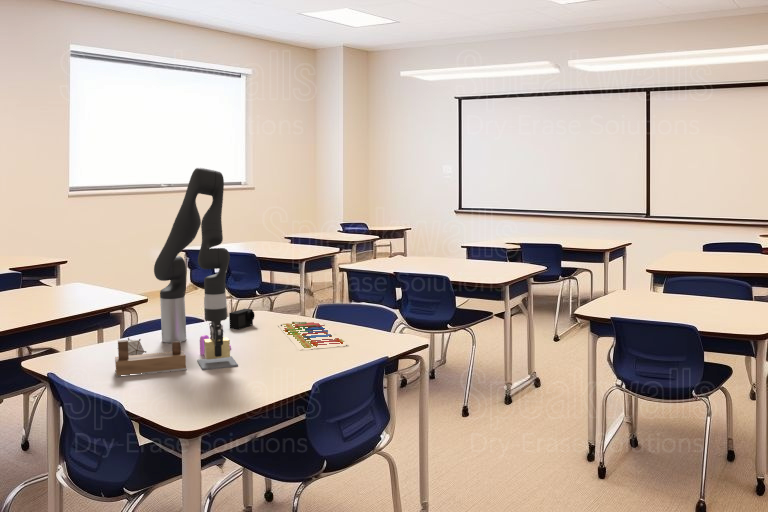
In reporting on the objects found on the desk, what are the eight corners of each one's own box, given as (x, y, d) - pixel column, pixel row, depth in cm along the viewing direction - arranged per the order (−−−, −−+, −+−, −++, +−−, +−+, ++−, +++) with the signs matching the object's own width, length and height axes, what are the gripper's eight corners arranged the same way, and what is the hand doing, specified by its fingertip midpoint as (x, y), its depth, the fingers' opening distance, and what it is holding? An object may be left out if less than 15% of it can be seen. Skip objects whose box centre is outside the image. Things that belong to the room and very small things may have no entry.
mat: (197, 361, 259) (197, 359, 259) (231, 357, 264) (231, 356, 264) (202, 370, 248) (202, 368, 248) (238, 366, 253) (237, 364, 252)
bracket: (212, 356, 266) (212, 337, 266) (200, 354, 269) (199, 336, 268) (233, 348, 278) (233, 329, 277) (221, 346, 280) (221, 328, 280)
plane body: (115, 371, 247) (113, 339, 246) (184, 364, 255) (182, 333, 254) (116, 377, 240) (114, 344, 239) (186, 369, 248) (185, 337, 247)
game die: (138, 370, 261) (155, 347, 261) (123, 368, 253) (141, 344, 254) (123, 355, 265) (140, 333, 265) (108, 352, 257) (125, 329, 257)
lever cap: (204, 356, 256) (203, 337, 255) (227, 353, 259) (227, 335, 258) (206, 359, 252) (205, 340, 251) (230, 357, 255) (229, 338, 254)
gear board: (277, 320, 316) (321, 317, 322) (277, 326, 316) (321, 323, 322) (299, 345, 273) (349, 341, 279) (299, 351, 274) (349, 347, 280)
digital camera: (239, 330, 307) (239, 313, 306) (229, 329, 310) (229, 312, 309) (255, 325, 316) (254, 309, 315) (245, 324, 319) (244, 308, 318)
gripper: (230, 309, 248) (231, 358, 250) (222, 301, 261) (224, 348, 263) (207, 310, 245) (209, 360, 248) (201, 303, 259) (203, 350, 261)
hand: (217, 354), depth 255 cm, fingers closed on lever cap, 4 cm apart
